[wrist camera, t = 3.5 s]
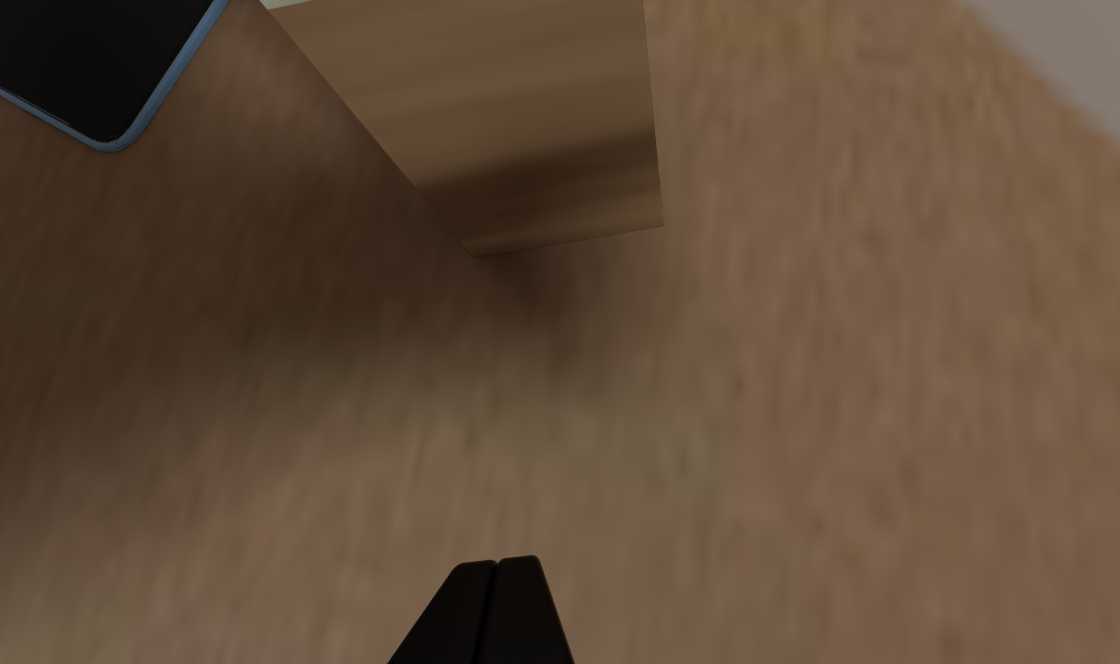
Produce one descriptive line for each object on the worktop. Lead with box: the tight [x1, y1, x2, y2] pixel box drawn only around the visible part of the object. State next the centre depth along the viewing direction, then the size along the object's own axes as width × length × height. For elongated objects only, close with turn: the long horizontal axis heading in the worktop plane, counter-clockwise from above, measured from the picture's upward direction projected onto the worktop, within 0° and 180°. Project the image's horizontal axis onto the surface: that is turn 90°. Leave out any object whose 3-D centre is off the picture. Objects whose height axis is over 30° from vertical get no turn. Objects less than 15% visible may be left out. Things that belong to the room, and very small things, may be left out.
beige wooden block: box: [260, 0, 664, 258], centre depth 16 cm, size 5×5×12 cm
